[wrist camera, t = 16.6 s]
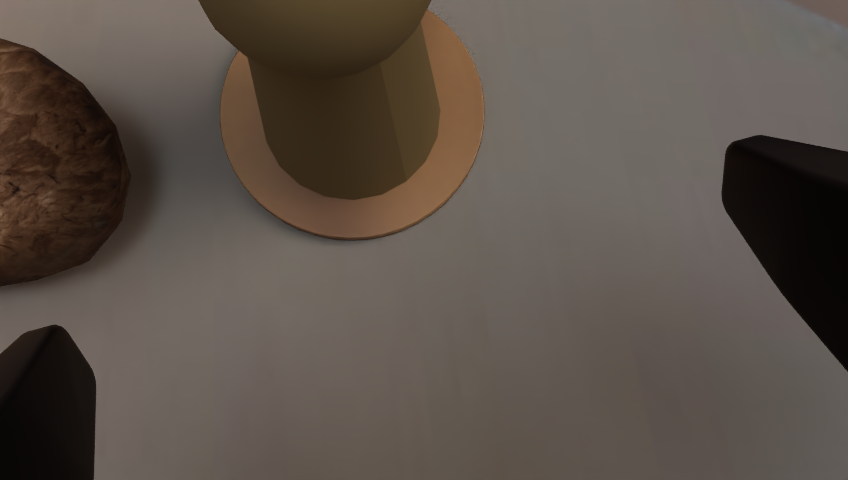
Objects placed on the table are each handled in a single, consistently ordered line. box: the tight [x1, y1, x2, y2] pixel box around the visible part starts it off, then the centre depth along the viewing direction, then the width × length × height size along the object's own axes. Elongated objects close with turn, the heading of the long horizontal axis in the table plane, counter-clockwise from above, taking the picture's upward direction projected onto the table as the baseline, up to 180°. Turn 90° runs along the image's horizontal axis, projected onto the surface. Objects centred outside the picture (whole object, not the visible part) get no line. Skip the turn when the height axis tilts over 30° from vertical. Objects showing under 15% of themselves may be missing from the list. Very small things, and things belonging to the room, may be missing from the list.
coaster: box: [220, 10, 484, 240], centre depth 23 cm, size 9×9×1 cm
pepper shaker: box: [199, 0, 441, 200], centre depth 18 cm, size 6×6×11 cm
